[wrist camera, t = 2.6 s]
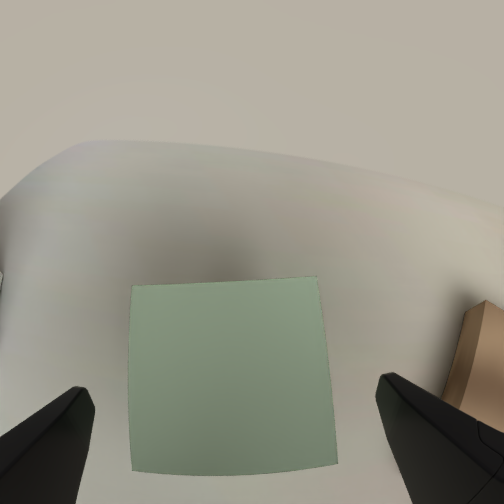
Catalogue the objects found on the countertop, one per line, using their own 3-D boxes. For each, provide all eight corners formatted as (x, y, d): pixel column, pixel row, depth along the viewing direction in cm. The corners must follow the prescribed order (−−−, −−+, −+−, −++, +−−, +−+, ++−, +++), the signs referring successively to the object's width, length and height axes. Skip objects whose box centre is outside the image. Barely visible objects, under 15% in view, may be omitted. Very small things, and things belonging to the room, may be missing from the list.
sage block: (287, 431, 15) (337, 463, 6) (195, 435, 15) (132, 470, 6) (280, 345, 17) (316, 276, 8) (191, 349, 17) (132, 285, 8)
